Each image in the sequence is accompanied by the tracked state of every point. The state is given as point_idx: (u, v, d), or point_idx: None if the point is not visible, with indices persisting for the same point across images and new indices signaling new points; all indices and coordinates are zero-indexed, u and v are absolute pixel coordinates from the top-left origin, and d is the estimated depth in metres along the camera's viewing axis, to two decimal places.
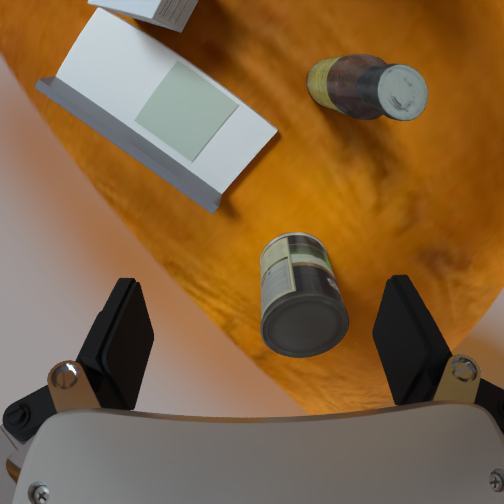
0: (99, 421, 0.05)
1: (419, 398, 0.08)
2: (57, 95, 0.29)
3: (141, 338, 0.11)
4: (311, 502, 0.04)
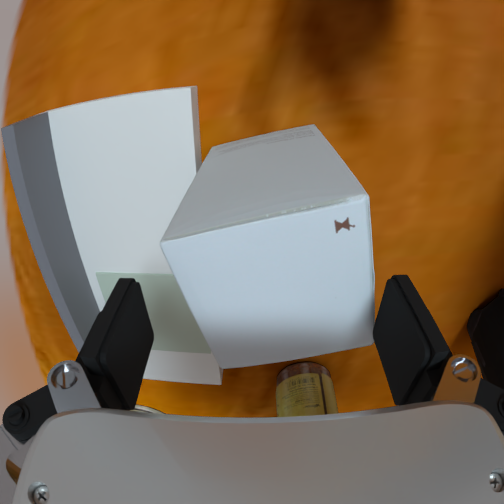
0: (99, 421, 0.05)
1: (419, 398, 0.08)
2: (21, 183, 0.16)
3: (141, 338, 0.11)
4: (311, 502, 0.04)
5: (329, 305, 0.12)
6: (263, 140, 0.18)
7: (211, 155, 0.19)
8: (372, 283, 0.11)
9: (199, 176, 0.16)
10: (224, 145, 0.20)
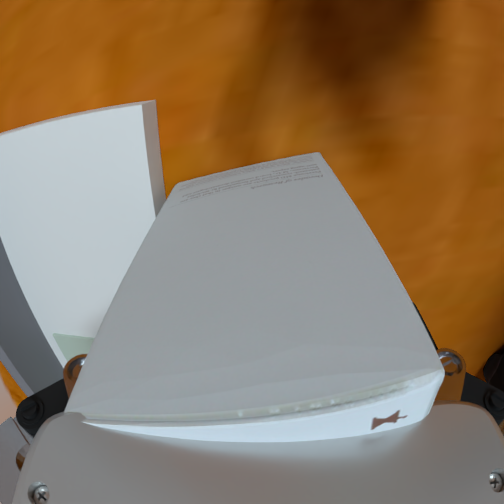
0: None
1: None
2: None
3: None
4: (311, 502, 0.04)
5: None
6: (246, 180, 0.13)
7: (171, 201, 0.13)
8: None
9: (144, 249, 0.10)
10: (192, 183, 0.14)
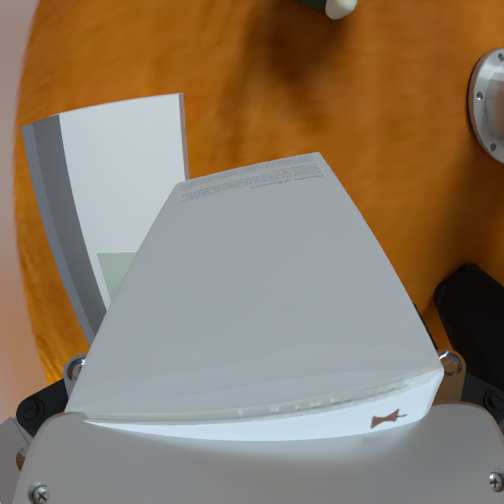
0: None
1: None
2: (38, 172, 0.20)
3: None
4: (311, 502, 0.04)
5: None
6: (246, 180, 0.13)
7: (171, 201, 0.13)
8: None
9: (144, 249, 0.10)
10: (192, 183, 0.14)
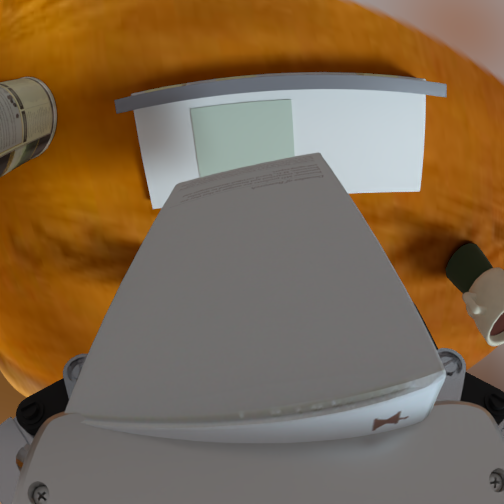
0: None
1: None
2: (409, 88, 0.22)
3: None
4: (311, 502, 0.04)
5: None
6: (246, 180, 0.13)
7: (171, 201, 0.13)
8: None
9: (144, 250, 0.10)
10: (192, 183, 0.14)
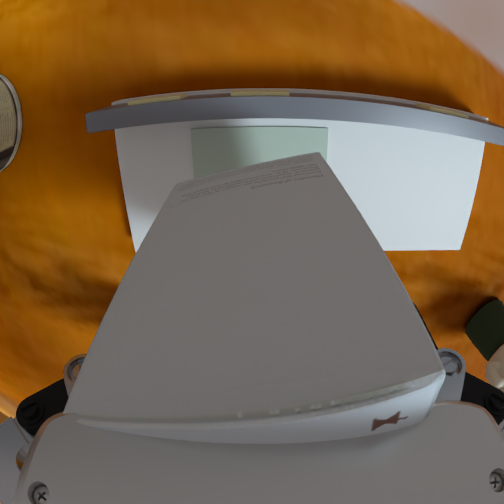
0: None
1: None
2: (481, 135, 0.16)
3: None
4: (311, 502, 0.04)
5: None
6: (245, 180, 0.13)
7: (171, 201, 0.13)
8: None
9: (144, 250, 0.10)
10: (191, 183, 0.14)
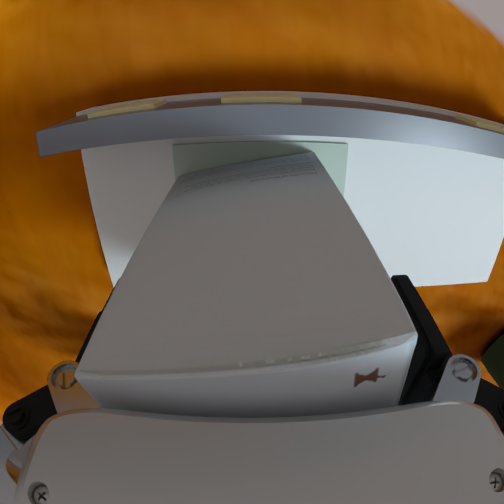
0: (99, 421, 0.05)
1: (419, 398, 0.08)
2: None
3: None
4: (311, 502, 0.04)
5: None
6: (245, 174, 0.14)
7: (175, 191, 0.14)
8: None
9: (151, 232, 0.11)
10: (194, 175, 0.15)
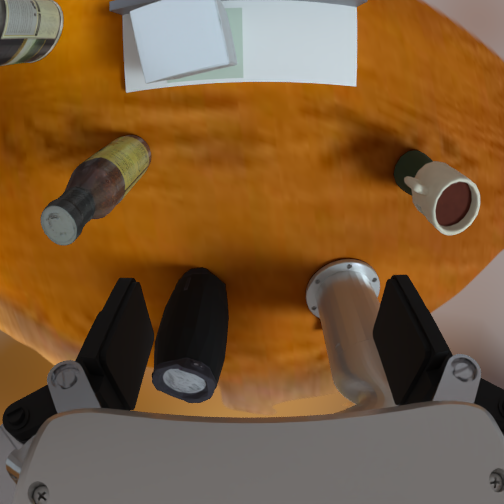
0: (99, 421, 0.05)
1: (419, 398, 0.08)
2: None
3: (141, 338, 0.11)
4: (311, 502, 0.04)
5: (199, 33, 0.21)
6: None
7: None
8: (220, 23, 0.20)
9: None
10: None
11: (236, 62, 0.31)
